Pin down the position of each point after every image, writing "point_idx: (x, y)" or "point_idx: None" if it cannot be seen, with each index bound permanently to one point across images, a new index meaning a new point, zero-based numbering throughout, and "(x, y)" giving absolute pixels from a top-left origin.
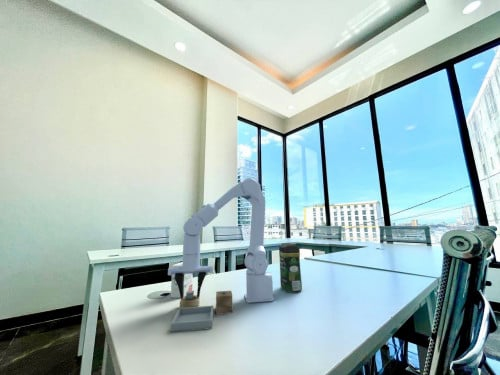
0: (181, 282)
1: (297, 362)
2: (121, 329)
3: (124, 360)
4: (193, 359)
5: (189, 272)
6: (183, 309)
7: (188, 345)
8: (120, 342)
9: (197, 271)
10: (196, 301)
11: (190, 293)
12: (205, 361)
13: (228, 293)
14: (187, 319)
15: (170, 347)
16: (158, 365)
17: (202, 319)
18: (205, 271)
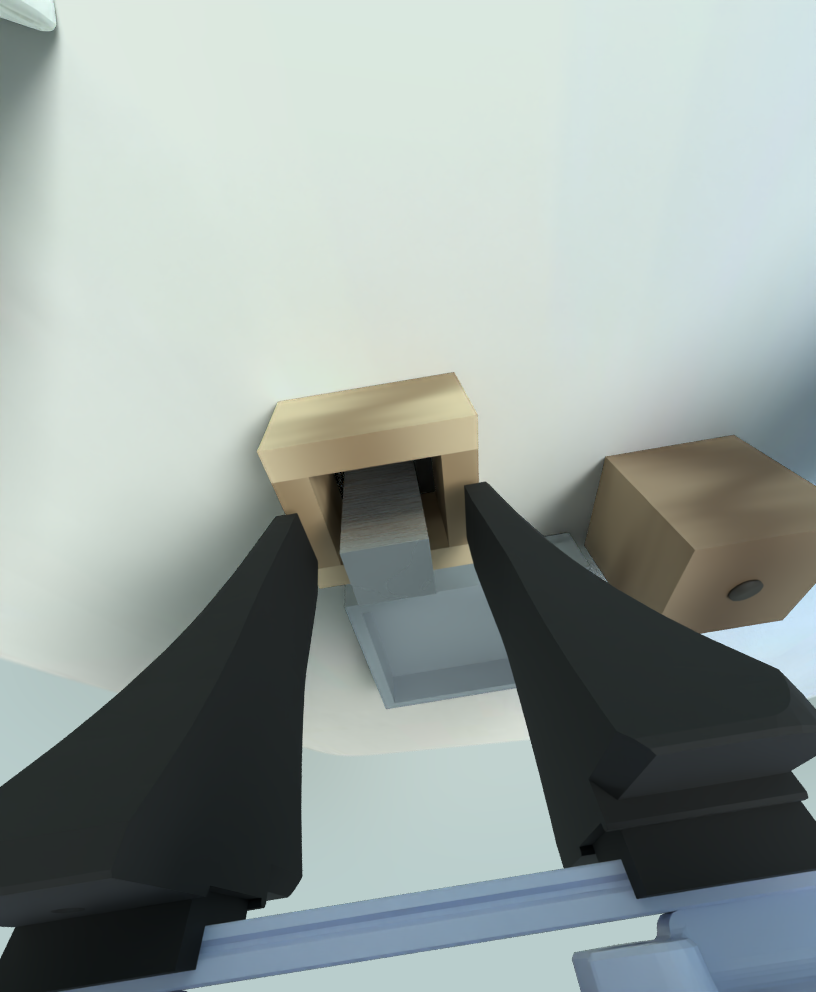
0: (295, 773)
1: None
2: (135, 677)
3: (319, 747)
4: (490, 729)
5: (388, 942)
6: (381, 605)
7: (468, 706)
8: None
9: (590, 922)
10: (464, 558)
11: (405, 593)
12: (518, 730)
13: (783, 587)
14: (427, 624)
15: (417, 715)
16: (414, 745)
17: None
18: (786, 886)
